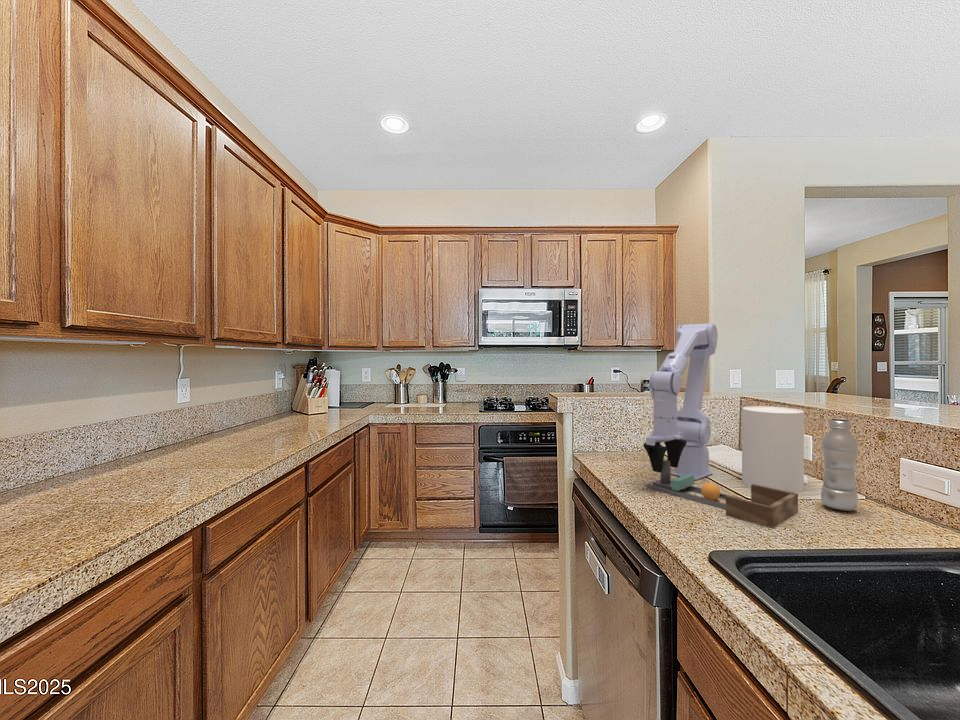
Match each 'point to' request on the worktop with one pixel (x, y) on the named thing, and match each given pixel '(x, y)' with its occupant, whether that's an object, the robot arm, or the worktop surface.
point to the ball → (710, 491)
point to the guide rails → (691, 497)
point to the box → (763, 506)
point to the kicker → (675, 483)
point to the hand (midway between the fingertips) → (665, 469)
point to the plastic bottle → (839, 467)
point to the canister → (773, 447)
